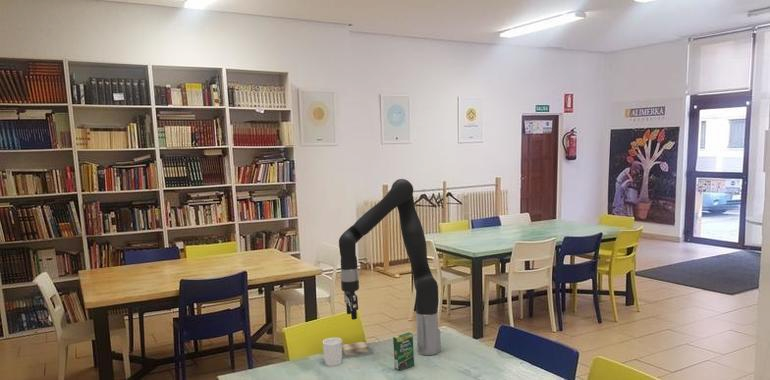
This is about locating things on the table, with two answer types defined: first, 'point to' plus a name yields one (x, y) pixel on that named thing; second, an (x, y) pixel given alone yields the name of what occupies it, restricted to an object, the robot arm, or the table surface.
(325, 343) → the white cup
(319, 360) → the table surface
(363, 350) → the lid board
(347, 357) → the mat
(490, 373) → the table surface
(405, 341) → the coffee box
